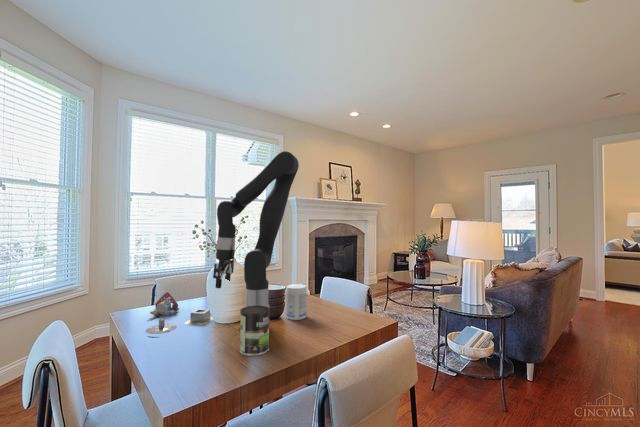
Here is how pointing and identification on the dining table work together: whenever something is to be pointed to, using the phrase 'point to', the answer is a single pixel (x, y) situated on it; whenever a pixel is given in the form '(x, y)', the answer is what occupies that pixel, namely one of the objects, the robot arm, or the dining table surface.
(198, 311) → the square socket block
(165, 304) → the brake caliper
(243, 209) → the robot arm
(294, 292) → the supplement tub
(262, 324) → the coffee can
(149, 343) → the dining table surface
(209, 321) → the stand
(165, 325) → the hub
